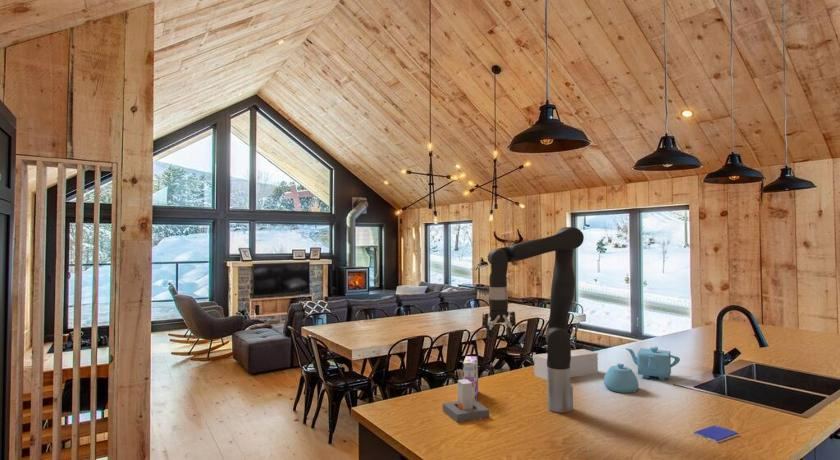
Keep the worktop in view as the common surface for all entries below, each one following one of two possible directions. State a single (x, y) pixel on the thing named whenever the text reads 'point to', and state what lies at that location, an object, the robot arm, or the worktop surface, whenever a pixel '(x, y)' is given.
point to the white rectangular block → (579, 364)
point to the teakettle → (654, 362)
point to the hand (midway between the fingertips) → (499, 337)
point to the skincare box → (465, 395)
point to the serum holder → (465, 411)
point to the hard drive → (716, 433)
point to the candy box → (471, 373)
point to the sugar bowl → (621, 379)
